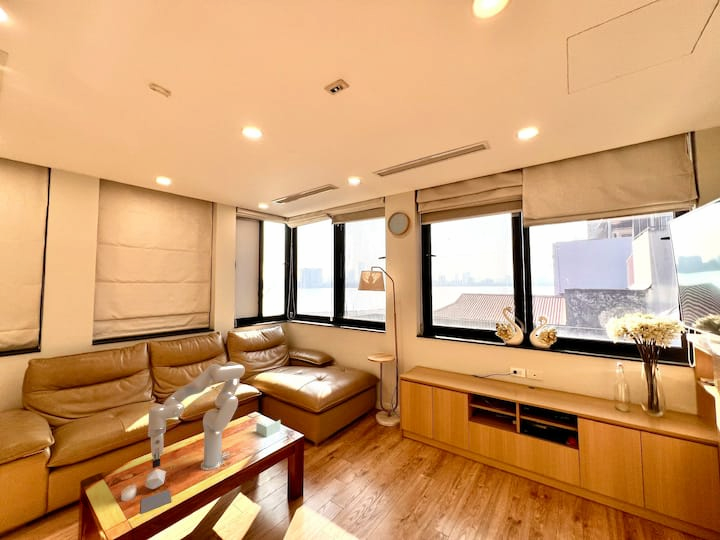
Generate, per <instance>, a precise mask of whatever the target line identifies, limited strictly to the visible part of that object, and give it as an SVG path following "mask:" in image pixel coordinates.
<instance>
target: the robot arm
mask: <svg viewBox="0 0 720 540" xmlns="http://www.w3.org/2000/svg"><path fill="white" fill-rule="evenodd" d="M245 368H246V367H245V366H244V365H242V364H241V363H238V362H235V361H227V362H226V363H225V365H220V364H217V363H211V364H210V365H209V366H208V367H206V368H204V370H203V371H202V372H201V373H200V374H199V375H198V376H197V377H195V378H194V379H193V380H192V381H191V382H189V383H187V384H185V385H183V386H182V387H180V388H178V389H177V390H175V392H173V393H172V394H171V395H170V396H168V397H167V398H166V400H165V401H164V402H163V404H158V405H154V406H152V407H150V409H149V410H148V424H147V425H148V427H147V428H148V432H147V436H148V437H149V438H150V449H151V457H152V464H151V465H152V466H151V467H152V469H157V468H158V467H161V455H163V454H164V437H165V436H164V434H165V433H166V431H167V420H168V419H175V418H178V417H180V416H181V415H182V414H183V413H184V411H185V406H184V404H183V403H182V402H184V400H186V399H188V398H189V397H191V396H194V395H198V394H201V393H203V392H204V391H205V390H206V389H207V388H208V387H209V386H210V385H211V384H212V383H213V382H215V381H216V382H224V384H223V386H222V388H221V390H220V392H219V393H218V394H217V396H216V399H215V402H214V403H215V406H216V407H217V408H219V409H217V408H211V409H208V410H207V411H206V412H205V413H204V415H203V418H202V425H203V461H202V462H201V463H200V469H201V470H202V471H214V470H216V469H218V468H220V467H221V466H222V465H223V464H224V463H225V458H228V457H230V456H231V452H228V451H225V452H223V450H222V449H223V448H222V447H223V444H222V443H223V442H222V441H223V438H222V437H223V432H222V431H224V430H225V429H226V428H227V427H228V425H229V423H230V421H231V420H232V418H233V416H234V415H235V412H236V410H237V408H238V406H239V399H238V397H237V395H235V394H236V392H237V389H238V388H239V385H240V378H242V377H243V376H244V375H245V372H246V369H245Z"/></svg>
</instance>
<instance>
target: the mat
mask: <svg viewBox="0 0 720 540" xmlns="http://www.w3.org/2000/svg"><path fill="white" fill-rule="evenodd" d="M171 503H172V494H171V489H170V488H168V489H166V490H163V491H161V492H157V493H154V494H152V495H150V496H147V497H145V498H141V499H140V515H143V514H146V513H147V512H151V511H152V510H155V509H157V508H160V507H162V506H165V505H168V504H171Z"/></svg>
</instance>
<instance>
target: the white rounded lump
mask: <svg viewBox="0 0 720 540" xmlns="http://www.w3.org/2000/svg"><path fill="white" fill-rule="evenodd" d="M120 496H121V497H120V501H122V502H128V501H131V500H132V499H134V498H136V496H137V485H136V484H131V485H127V486H126V487H124V488H123V489H121V491H120Z"/></svg>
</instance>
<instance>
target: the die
mask: <svg viewBox="0 0 720 540" xmlns="http://www.w3.org/2000/svg"><path fill="white" fill-rule="evenodd" d="M166 473H167V471H165V470H163V469H159V468H154V470H152V471H150V472H149V473H148V474H147V477H146V480H145V485H144V486H145V487H146V488H148V489H150V490H155V489H158V488H159V487H161V486H162V485H164V483H165V479H166Z"/></svg>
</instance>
